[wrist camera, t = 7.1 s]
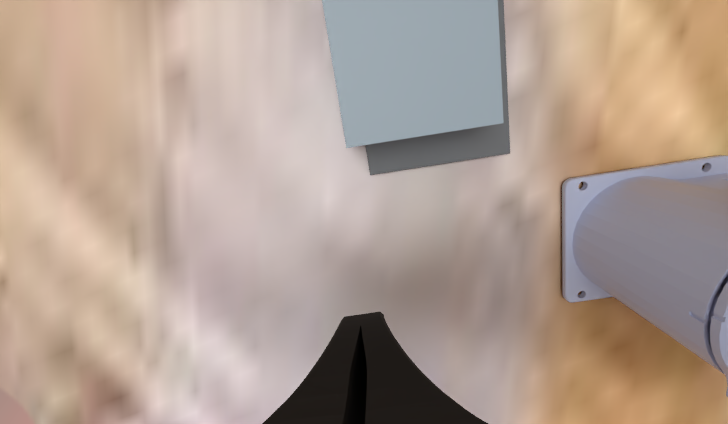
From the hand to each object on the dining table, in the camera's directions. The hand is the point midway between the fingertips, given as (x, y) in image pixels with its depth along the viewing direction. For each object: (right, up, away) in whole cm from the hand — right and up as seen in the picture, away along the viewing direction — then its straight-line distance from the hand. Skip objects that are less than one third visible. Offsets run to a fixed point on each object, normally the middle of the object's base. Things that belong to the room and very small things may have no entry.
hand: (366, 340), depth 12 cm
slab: (-2, +12, +4) cm, 13 cm away
